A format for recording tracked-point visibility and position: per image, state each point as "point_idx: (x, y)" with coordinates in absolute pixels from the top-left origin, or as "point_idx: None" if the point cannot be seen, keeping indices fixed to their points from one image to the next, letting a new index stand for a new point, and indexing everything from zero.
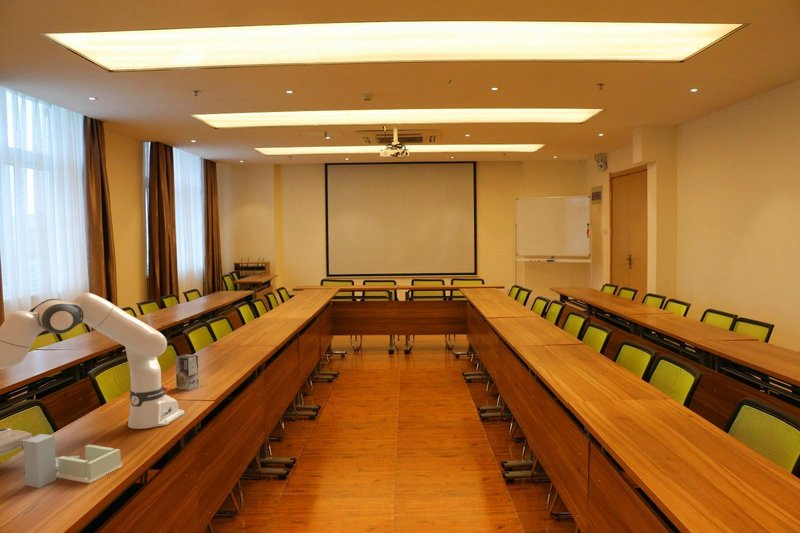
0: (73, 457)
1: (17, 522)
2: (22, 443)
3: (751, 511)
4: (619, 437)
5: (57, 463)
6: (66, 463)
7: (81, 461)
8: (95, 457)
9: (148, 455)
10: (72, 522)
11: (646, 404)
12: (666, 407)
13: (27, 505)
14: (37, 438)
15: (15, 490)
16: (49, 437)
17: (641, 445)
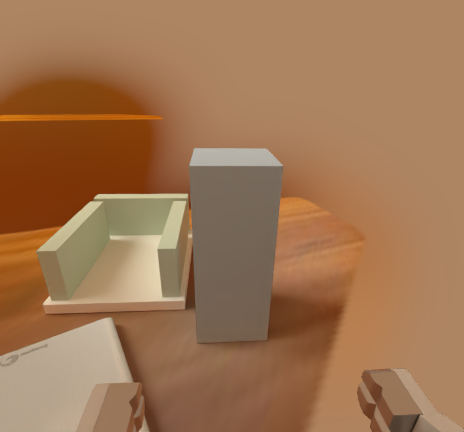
0: (14, 364)
1: (349, 231)
2: (124, 416)
3: (149, 116)
4: (68, 119)
5: (87, 373)
6: (181, 240)
7: (181, 206)
8: (85, 256)
9: (33, 233)
10: (292, 197)
11: (11, 116)
12: (21, 115)
13: (316, 255)
14: (238, 157)
15: (305, 337)
16: (213, 148)
17: (82, 118)
